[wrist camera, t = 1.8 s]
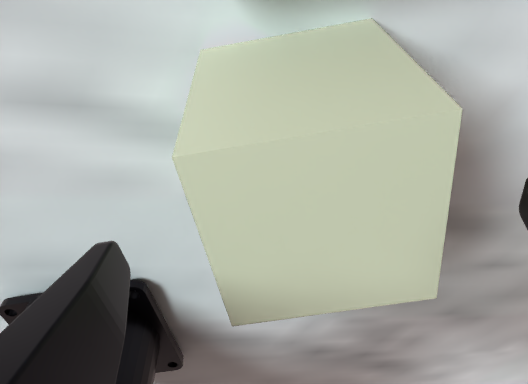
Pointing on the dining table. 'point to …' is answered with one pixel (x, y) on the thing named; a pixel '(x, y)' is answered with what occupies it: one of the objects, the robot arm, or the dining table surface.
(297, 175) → the green block
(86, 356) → the robot arm
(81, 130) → the dining table surface
